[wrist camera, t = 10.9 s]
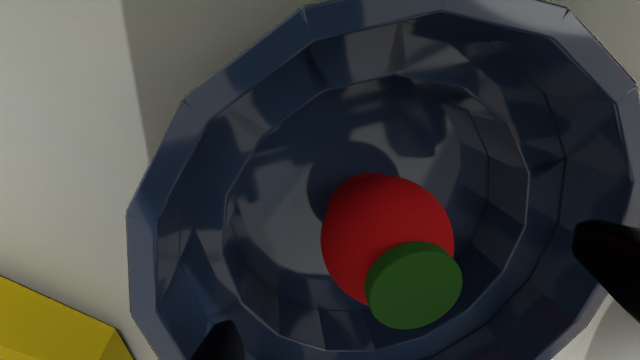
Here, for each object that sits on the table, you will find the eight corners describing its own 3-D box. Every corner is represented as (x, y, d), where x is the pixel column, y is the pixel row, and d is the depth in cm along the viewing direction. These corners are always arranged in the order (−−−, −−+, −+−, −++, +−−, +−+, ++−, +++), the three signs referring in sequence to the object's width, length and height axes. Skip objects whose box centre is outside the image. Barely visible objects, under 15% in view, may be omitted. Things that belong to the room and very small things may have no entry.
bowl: (513, 285, 15) (604, 374, 11) (246, 362, 14) (237, 486, 10) (531, -31, 10) (722, -90, 6) (110, 65, 9) (-22, 77, 5)
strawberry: (421, 239, 12) (493, 328, 8) (325, 266, 12) (351, 370, 8) (413, 146, 11) (496, 201, 7) (301, 174, 11) (320, 248, 7)
